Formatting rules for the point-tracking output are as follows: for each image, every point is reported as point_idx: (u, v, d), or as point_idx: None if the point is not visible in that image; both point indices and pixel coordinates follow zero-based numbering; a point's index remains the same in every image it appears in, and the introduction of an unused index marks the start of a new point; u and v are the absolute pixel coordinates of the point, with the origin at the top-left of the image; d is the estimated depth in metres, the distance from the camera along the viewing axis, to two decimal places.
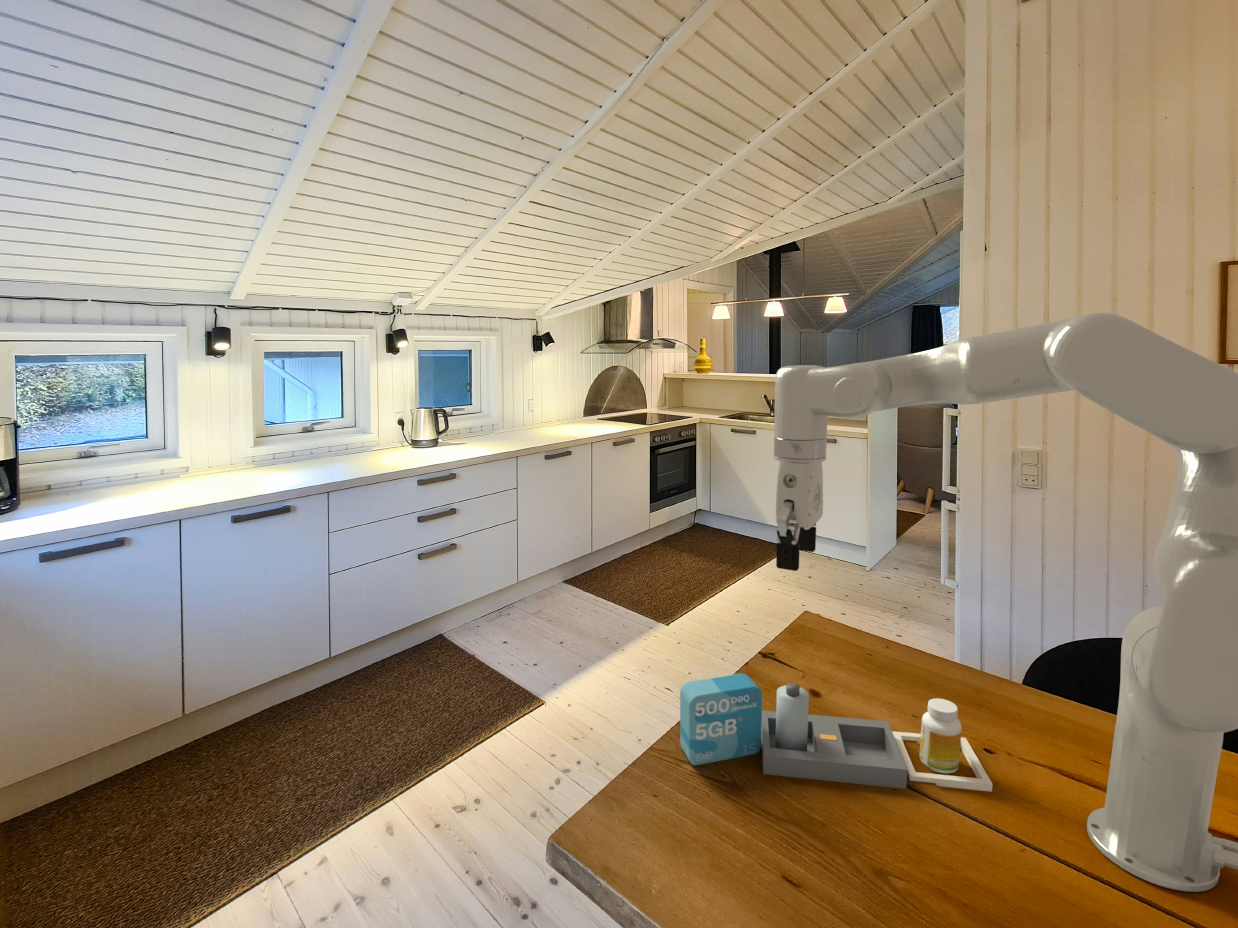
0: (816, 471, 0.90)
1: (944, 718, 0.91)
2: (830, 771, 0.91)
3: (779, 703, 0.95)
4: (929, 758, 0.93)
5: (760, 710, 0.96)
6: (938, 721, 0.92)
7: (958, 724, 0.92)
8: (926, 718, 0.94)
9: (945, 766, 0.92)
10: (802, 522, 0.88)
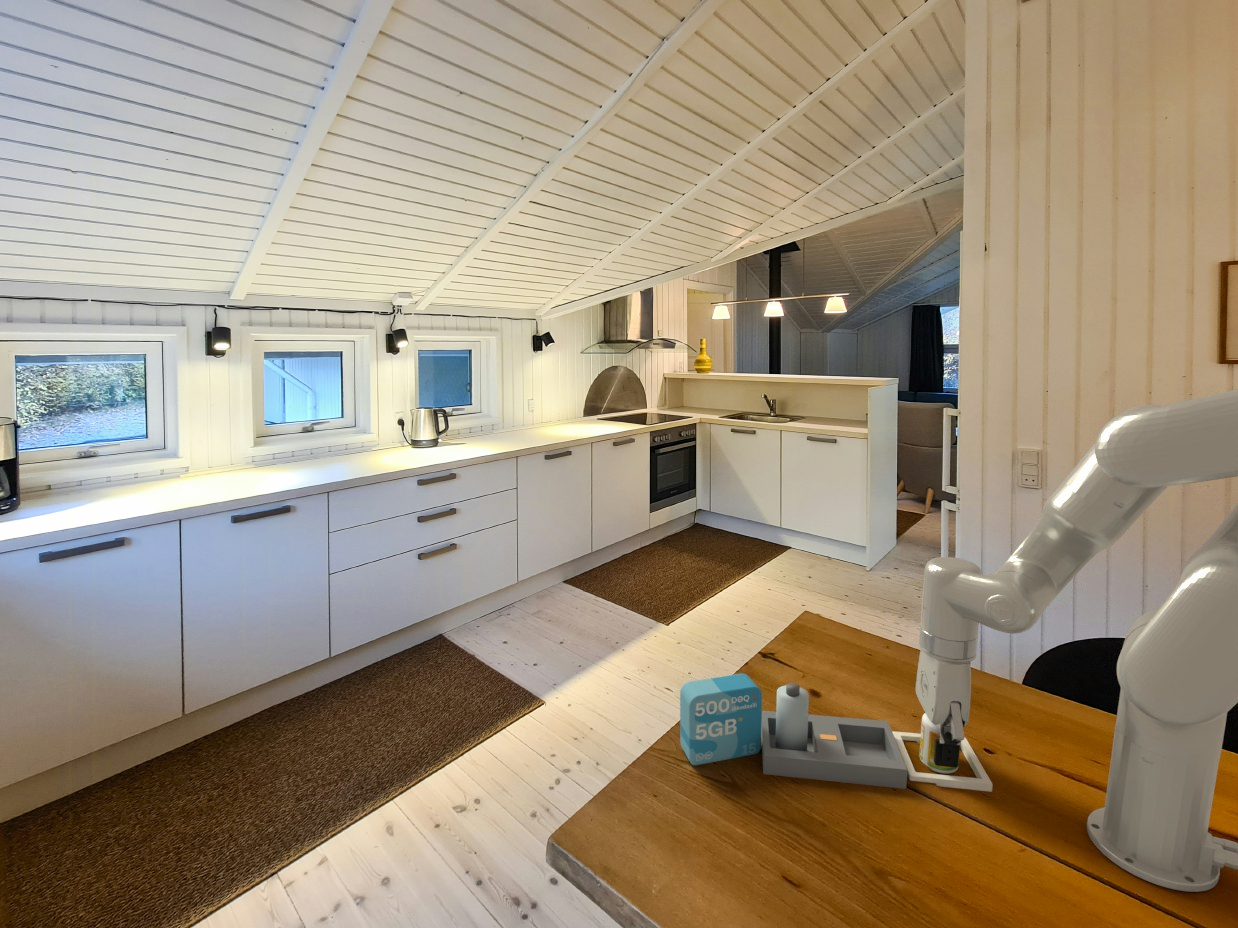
0: (924, 656, 0.93)
1: None
2: (830, 771, 0.91)
3: (779, 703, 0.95)
4: (929, 758, 0.93)
5: (760, 710, 0.96)
6: None
7: None
8: (926, 718, 0.94)
9: None
10: None
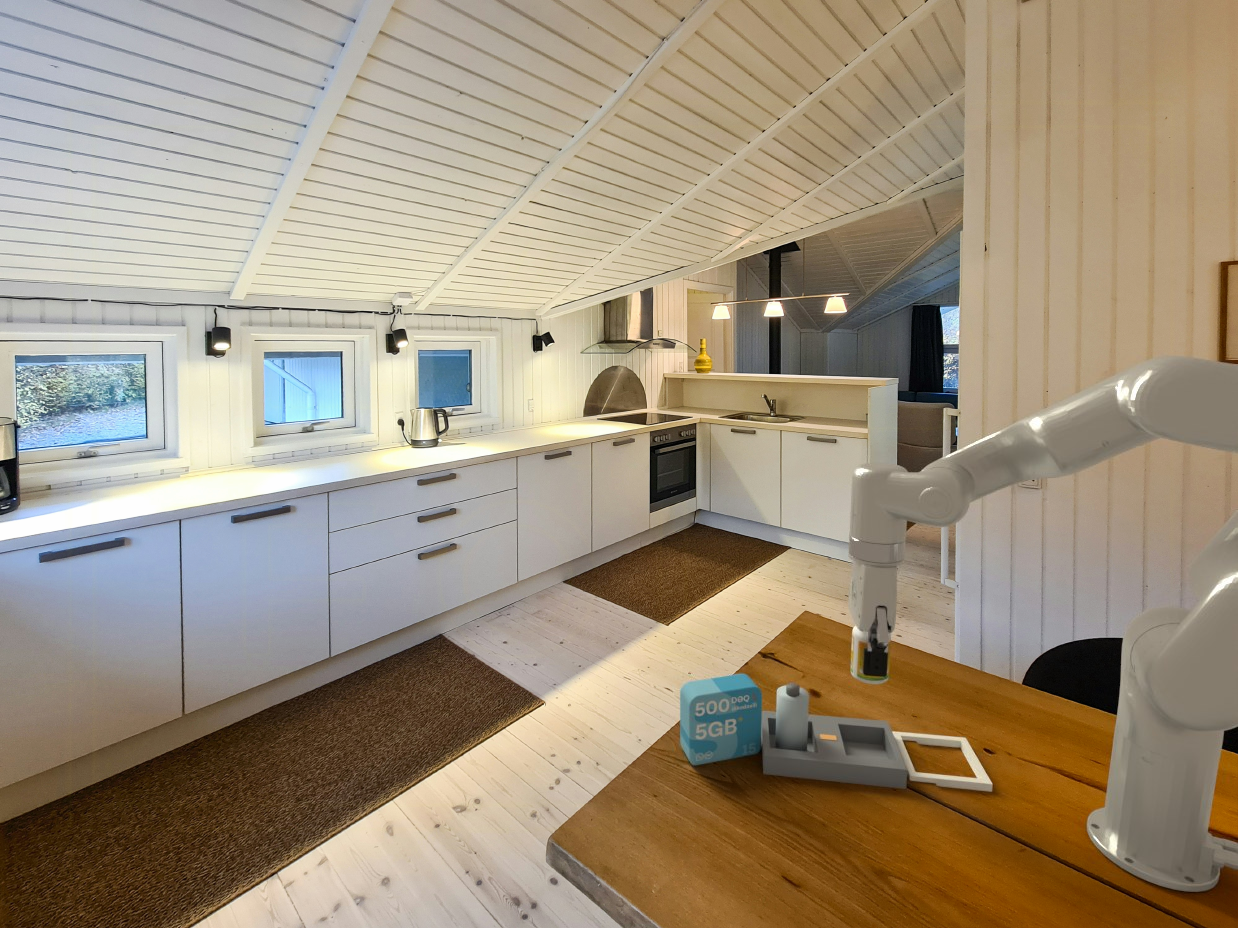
0: (854, 565, 0.91)
1: (872, 626, 0.90)
2: (830, 771, 0.91)
3: (779, 703, 0.95)
4: (858, 669, 0.91)
5: (760, 710, 0.96)
6: None
7: None
8: (856, 628, 0.92)
9: (874, 676, 0.90)
10: None
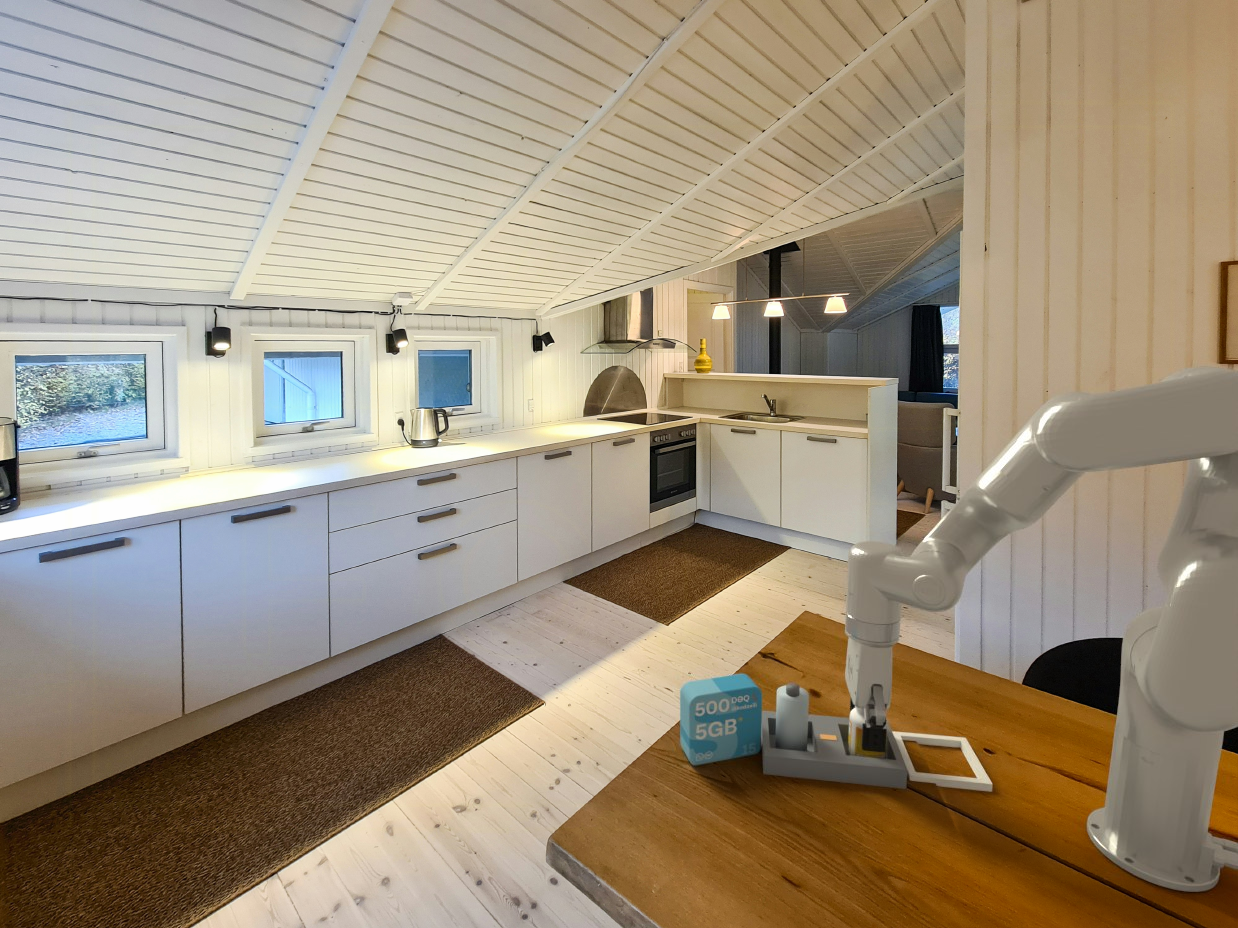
0: (850, 640, 0.94)
1: (869, 713, 0.92)
2: (830, 771, 0.91)
3: (779, 703, 0.95)
4: (855, 753, 0.94)
5: (760, 710, 0.96)
6: (864, 717, 0.93)
7: None
8: (853, 713, 0.94)
9: None
10: None
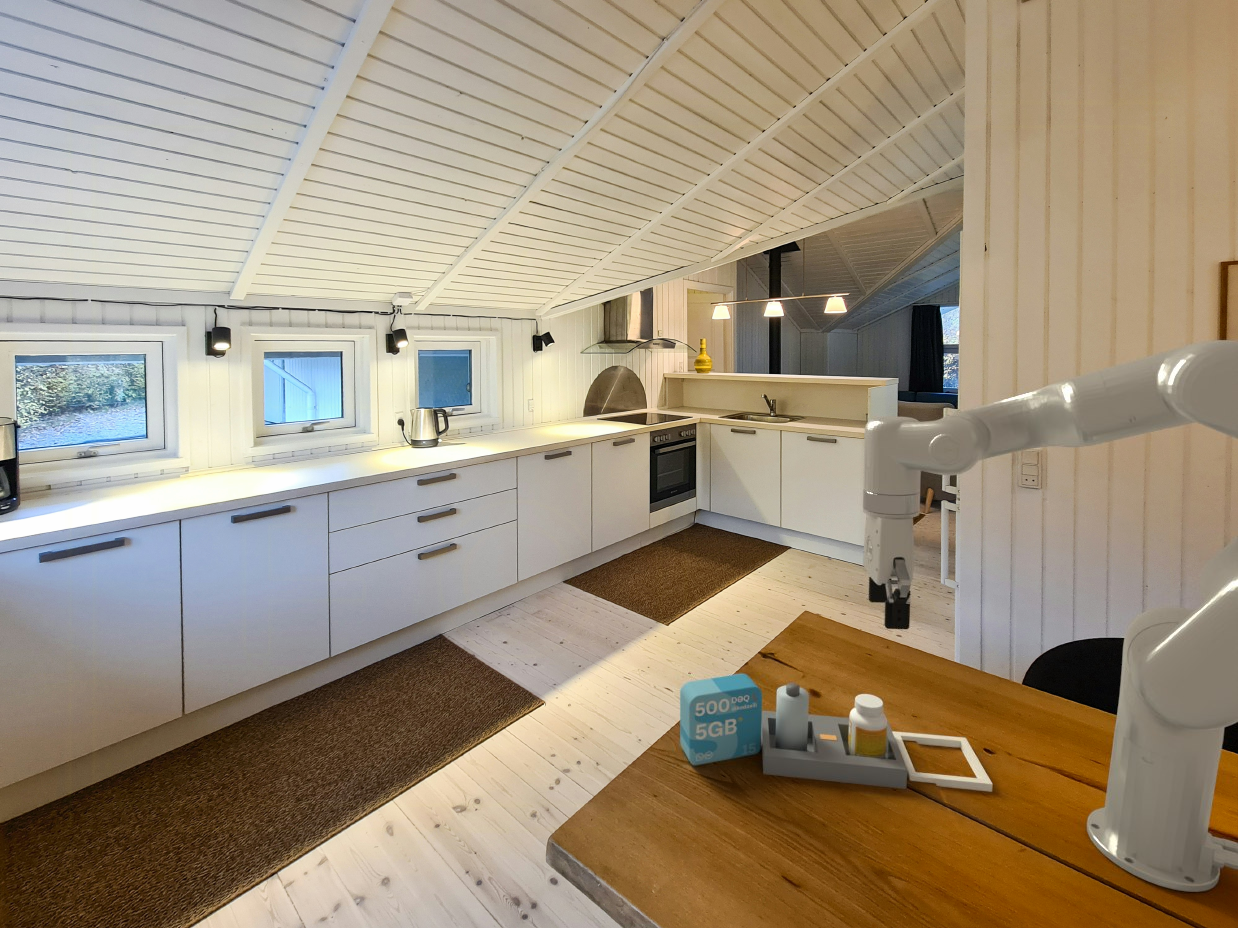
0: (869, 521, 0.91)
1: (869, 713, 0.92)
2: (830, 771, 0.91)
3: (779, 703, 0.95)
4: (855, 753, 0.94)
5: (760, 710, 0.96)
6: (864, 717, 0.93)
7: (883, 719, 0.93)
8: (853, 713, 0.94)
9: None
10: None
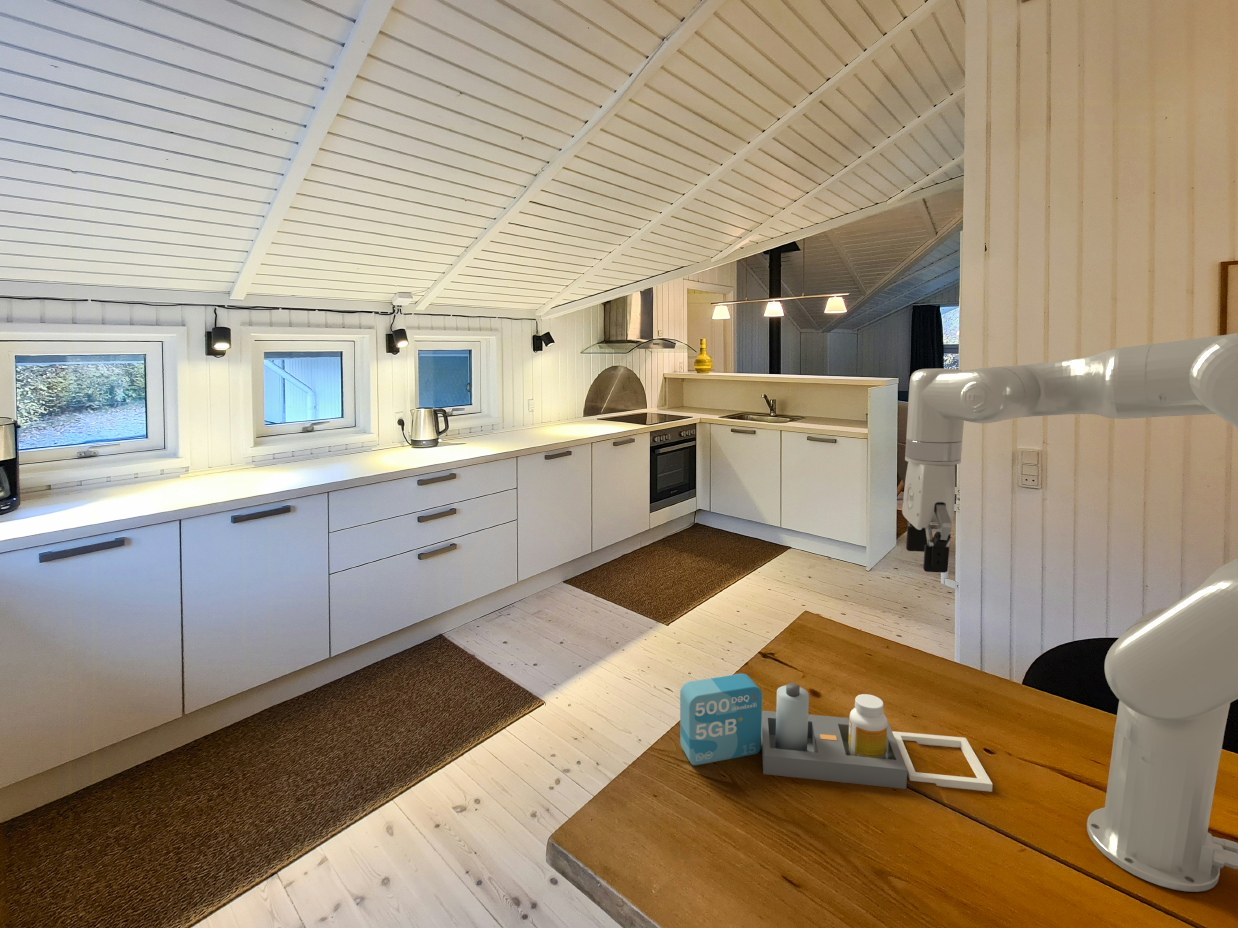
0: (910, 469, 0.95)
1: (870, 713, 0.92)
2: (830, 771, 0.91)
3: (779, 703, 0.95)
4: (856, 753, 0.94)
5: (760, 710, 0.96)
6: (864, 717, 0.93)
7: (884, 719, 0.93)
8: (853, 713, 0.94)
9: None
10: None
